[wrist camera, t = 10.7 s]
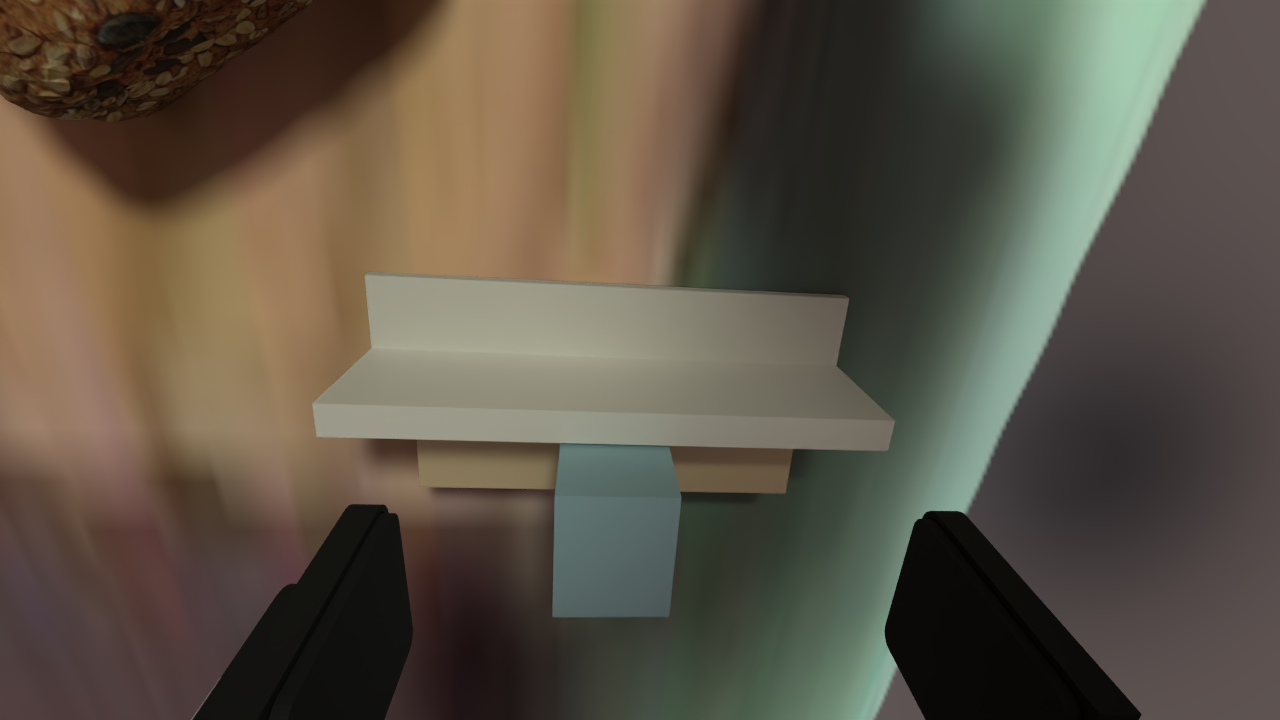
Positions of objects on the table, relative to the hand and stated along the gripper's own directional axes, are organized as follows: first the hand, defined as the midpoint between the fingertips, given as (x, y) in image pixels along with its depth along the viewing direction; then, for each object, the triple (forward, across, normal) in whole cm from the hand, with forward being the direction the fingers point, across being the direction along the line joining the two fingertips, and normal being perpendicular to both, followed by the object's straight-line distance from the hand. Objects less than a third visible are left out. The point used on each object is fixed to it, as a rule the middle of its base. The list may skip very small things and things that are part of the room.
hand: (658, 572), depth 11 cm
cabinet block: (+19, 0, +10) cm, 21 cm away
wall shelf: (+23, +1, +6) cm, 24 cm away
